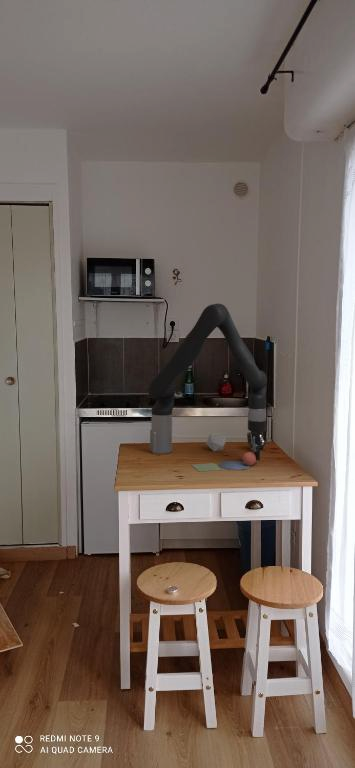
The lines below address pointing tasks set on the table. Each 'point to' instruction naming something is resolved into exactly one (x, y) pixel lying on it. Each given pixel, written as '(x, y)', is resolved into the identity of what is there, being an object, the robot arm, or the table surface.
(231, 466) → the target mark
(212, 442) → the die
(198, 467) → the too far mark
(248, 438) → the cup
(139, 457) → the table surface
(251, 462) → the ball
